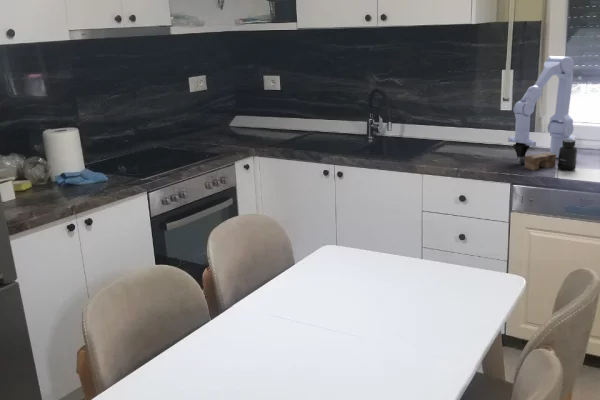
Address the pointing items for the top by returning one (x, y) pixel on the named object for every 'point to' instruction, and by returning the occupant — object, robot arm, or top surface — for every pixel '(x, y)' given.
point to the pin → (523, 160)
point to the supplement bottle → (567, 156)
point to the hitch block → (540, 160)
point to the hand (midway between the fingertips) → (520, 160)
